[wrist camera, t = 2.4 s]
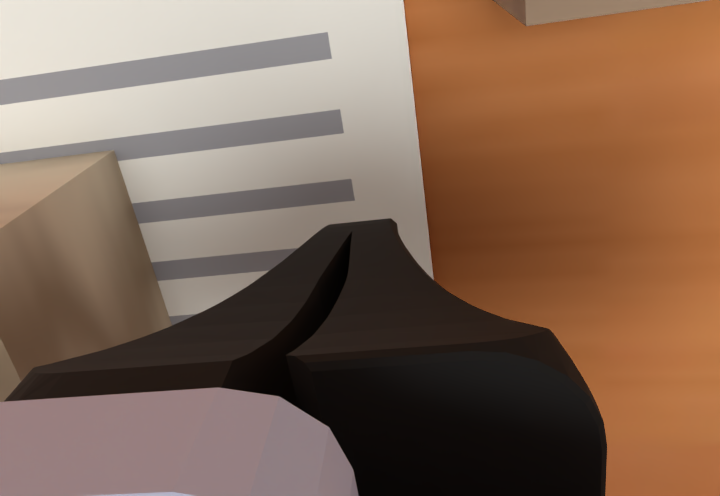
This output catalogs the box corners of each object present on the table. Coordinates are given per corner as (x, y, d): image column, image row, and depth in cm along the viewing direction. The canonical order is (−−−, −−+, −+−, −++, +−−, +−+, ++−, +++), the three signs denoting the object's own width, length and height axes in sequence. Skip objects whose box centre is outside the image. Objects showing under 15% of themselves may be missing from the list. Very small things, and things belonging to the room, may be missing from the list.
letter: (449, 429, 16) (450, 434, 16) (-30, 456, 18) (-34, 459, 18) (394, -84, 11) (393, -83, 11) (-269, 29, 13) (-277, 30, 13)
